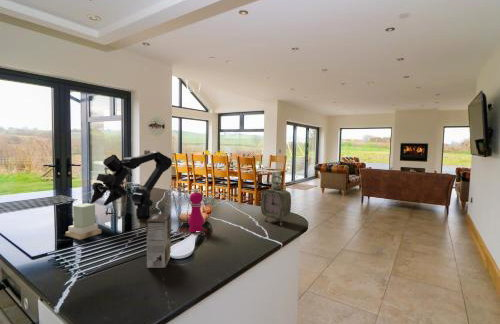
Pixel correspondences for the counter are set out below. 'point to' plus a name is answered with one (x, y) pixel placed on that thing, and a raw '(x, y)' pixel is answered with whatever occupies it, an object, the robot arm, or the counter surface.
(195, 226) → the pepper mill
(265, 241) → the counter surface
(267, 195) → the tabletop clock
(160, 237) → the coffee box
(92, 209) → the sage block
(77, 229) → the top block
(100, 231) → the bottom block
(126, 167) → the robot arm
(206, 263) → the counter surface
